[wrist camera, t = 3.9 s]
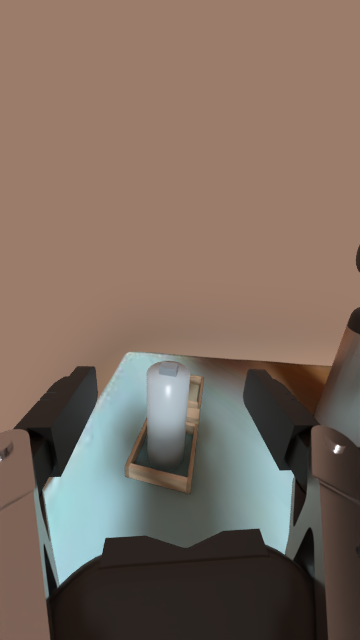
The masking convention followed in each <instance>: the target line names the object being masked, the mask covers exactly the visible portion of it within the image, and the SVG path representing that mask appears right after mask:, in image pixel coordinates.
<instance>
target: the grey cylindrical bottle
mask: <svg viewBox="0 0 360 640" xmlns="http://www.w3.org/2000/svg"><path fill="white" fill-rule="evenodd" d="M189 383H190V371H189V369H188V368H187V367H186V366H185V365H183V364H181V363H178V362H173V361H162V362H158V363H156V364H154V365H152V366H151V367H150V368H149V369H148V371H147V456H148V461H149V463H150V465H151V466H152V467H153V468H154V469H156V470H159V471H163V472H170V471H172V470H174V469H176V468H177V467H178V466H179V465H180V464H181V462H182V460H183V455H184V444H185V432H186V419H187V407H188V395H189Z"/></svg>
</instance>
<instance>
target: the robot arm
mask: <svg viewBox="0 0 360 640" xmlns="http://www.w3.org/2000/svg"><path fill="white" fill-rule="evenodd" d="M356 265H357V269H358V271H359V272H360V246H359V248H358V251H357V255H356ZM97 396H98V390H97V380H96V370H95V367H90V366H78V367H76V368H75V370H74V371H73V372H72V373H71V375H70V376H69V377H63V378H62V379H60V380H58V381H57V382H55V383H54V384H53V385H52V386H51V387H50V388H49V389H48V391H47V392H46V393H45V394H44V395H43V396H42V397H41V398H40V401H38V402H37V403H36V404H35V405H34V406H33V407H32V408H31V410H30V411H29V412H28V413H27V414H26V415H25V416H24V417H23V419H22V420H21V421H20V422H19V423H18V424H17V425H16V426H15V427H14V429H13V430H9V431H5V432H2V433H0V640H360V307H359V308H357V309H355V310H354V311H353V312H352V314H351V316H350V319H349V321H348V324H347V327H346V329H345V332H344V335H343V338H342V340H341V343H340V346H339V349H338V351H337V354H336V357H335V360H334V362H333V365H332V367H331V370H330V373H329V376H328V378H327V381H326V384H325V386H324V389H323V392H322V395H321V397H320V400H319V403H318V405H317V407H316V411H315V413H314V417H313V416H312V415H311V414H310V413H309V412H308V410H307V409H306V408H305V407H304V406H303V405H302V404H301V403H300V402H299V401H297V399H296V397H295V396H294V395H292V394H291V392H290V391H289V390H288V389H287V388H286V387H285V385H283V384H282V383H280V382H279V381H277V380H276V379H273V378H272V377H271V376H270V375H269V374H268V373H267V371H266V370H264V369H249V370H248V372H247V377H246V382H245V387H244V392H243V399H244V404H245V406H246V408H247V410H248V412H249V413H250V415H251V417H252V419H253V421H254V423H255V425H256V427H257V429H258V430H259V432H260V434H261V436H262V438H263V440H264V442H265V444H266V445H267V447H268V449H269V451H270V453H271V455H272V457H273V459H274V461H275V462H276V464H277V466H278V468H279V470H291V471H292V472H293V474H294V478H293V482H292V496H291V511H290V526H289V536H288V541H287V546H286V550H285V555H284V554H283V553H281V552H280V551H278V550H276V549H274V548H272V547H270V546H268V545H265V544H264V541H263V538H262V535H261V532H260V529H248V530H231V531H222V532H220V533H218V534H216V535H214V536H212V537H210V538H208V539H206V540H204V541H202V542H200V543H198V544H195V545H193V546H191V547H189V548H182V547H179V546H176V545H173V544H169V543H166V542H163V541H160V540H157V539H154V538H151V537H148V536H133V537H116V538H106V539H105V543H104V548H103V553H102V555H100V556H97V557H95V558H94V559H92V560H90V561H89V562H87V563H85V564H84V565H83V566H81V567H80V568H79V569H77V570H76V571H75V572H74V573H72V574H71V575H70V576H69V577H68V578H67V579H66V580H65V581H64V582H63V583H62V584H61V585H59V580H58V574H57V569H56V564H55V559H54V554H53V549H52V542H51V536H50V530H49V523H48V517H47V510H46V504H45V497H44V491H43V487H44V486H45V484H46V482H47V480H48V478H49V477H61V475H62V473H63V471H64V469H65V467H66V465H67V463H68V461H69V459H70V457H71V455H72V452H73V450H74V448H75V446H76V444H77V442H78V440H79V438H80V436H81V434H82V432H83V430H84V428H85V426H86V423H87V421H88V419H89V417H90V415H91V413H92V411H93V409H94V407H95V405H96V402H97Z"/></svg>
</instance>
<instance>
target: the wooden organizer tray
mask: <svg viewBox="0 0 360 640" xmlns="http://www.w3.org/2000/svg"><path fill="white" fill-rule="evenodd" d="M203 382H204V377H200V376H194V375H190V384H189V395H188V407H187V419H186V432H185V434H190V435H193V442H192V449H191V456H190V463H189V471H188V478H187V477H183V476H179V475H175V474H171V473H167V472H163V471H159V470H155V469H151V468H147V467H144V466H140V465H136V464H135V462H136V460H137V457H138V455H139V452H140V450H141V447H142V445H143V443H144V440H145V438H146V435H147V418H146V420H145V423H144V425H143V427H142V429H141V431H140V434H139V436H138V438H137V440H136V443H135V445H134V447H133V449H132V452H131V454H130V456H129V458H128V460H127V463H126V465H125V477H129V478H132V479H136V480H140V481H144V482H147V483H151V484H155V485H159V486H162V487H166V488H170V489H173V490H177V491H181V492H185V493H188V494H190V491H191V482H192V474H193V466H194V457H195V449H196V441H197V432H198V424H199V415H200V407H201V399H202V390H203ZM195 384H196V385H195ZM199 385H200V392H199V399H198V402H197V397H198V391H199Z"/></svg>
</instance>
